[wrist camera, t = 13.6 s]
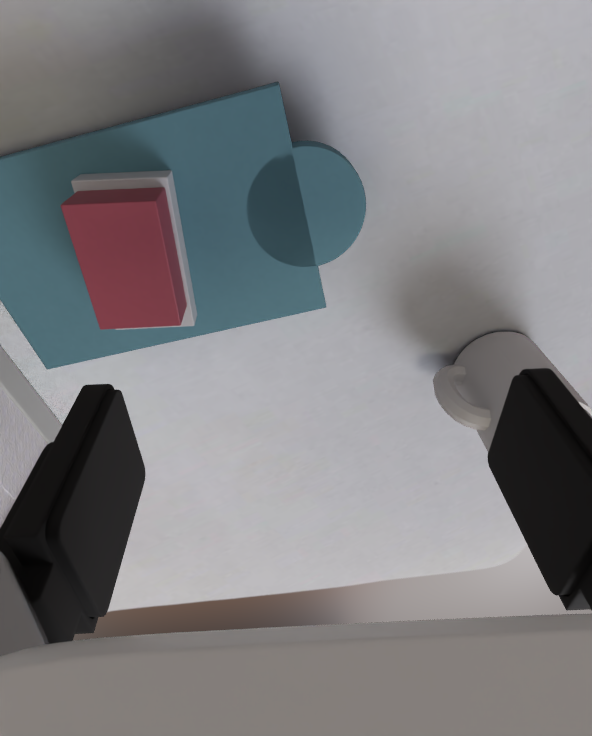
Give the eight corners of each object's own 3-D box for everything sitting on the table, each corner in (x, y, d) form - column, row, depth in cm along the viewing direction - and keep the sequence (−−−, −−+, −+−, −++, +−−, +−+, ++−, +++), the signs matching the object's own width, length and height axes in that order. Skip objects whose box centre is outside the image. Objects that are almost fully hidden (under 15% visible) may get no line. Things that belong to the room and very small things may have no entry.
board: (67, 339, 36) (46, 369, 33) (-41, 164, 28) (-81, 180, 25) (368, 271, 34) (378, 296, 30) (338, 61, 26) (348, 65, 23)
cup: (514, 401, 42) (566, 478, 34) (407, 391, 40) (437, 469, 33) (551, 333, 38) (619, 404, 30) (434, 320, 36) (475, 390, 29)
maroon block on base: (79, 174, 25) (51, 194, 22) (172, 169, 25) (157, 189, 22) (121, 318, 31) (103, 352, 27) (197, 314, 31) (188, 347, 27)
